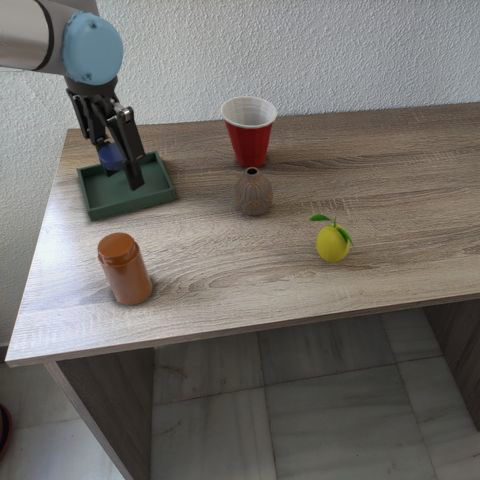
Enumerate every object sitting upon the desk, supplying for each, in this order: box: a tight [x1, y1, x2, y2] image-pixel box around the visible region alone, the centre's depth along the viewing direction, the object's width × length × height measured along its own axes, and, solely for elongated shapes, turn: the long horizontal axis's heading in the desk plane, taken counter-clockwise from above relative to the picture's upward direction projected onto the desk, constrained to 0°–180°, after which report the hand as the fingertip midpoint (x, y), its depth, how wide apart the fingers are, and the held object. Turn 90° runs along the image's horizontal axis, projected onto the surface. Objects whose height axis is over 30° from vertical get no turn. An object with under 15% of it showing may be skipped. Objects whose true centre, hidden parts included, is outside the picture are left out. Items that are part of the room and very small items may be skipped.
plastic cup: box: [219, 95, 278, 169], centre depth 93 cm, size 11×11×12 cm
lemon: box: [308, 213, 355, 263], centre depth 76 cm, size 7×6×10 cm
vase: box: [233, 167, 274, 217], centre depth 84 cm, size 7×7×9 cm
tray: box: [76, 150, 178, 223], centre depth 89 cm, size 15×13×2 cm
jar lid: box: [97, 141, 124, 171], centre depth 84 cm, size 6×6×2 cm
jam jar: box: [97, 231, 154, 306], centre depth 69 cm, size 6×6×11 cm
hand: (125, 179), depth 88 cm, fingers closed on jar lid, 6 cm apart
